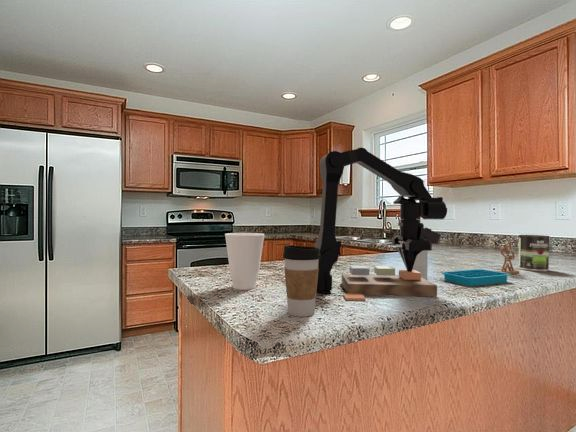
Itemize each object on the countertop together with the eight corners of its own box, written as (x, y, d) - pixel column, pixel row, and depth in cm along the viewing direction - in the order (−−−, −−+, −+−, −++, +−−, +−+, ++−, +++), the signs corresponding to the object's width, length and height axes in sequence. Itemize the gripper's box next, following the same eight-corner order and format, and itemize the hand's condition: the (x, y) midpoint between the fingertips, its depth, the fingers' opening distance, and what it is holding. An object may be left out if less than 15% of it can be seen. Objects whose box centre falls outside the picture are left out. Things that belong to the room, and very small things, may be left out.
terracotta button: (403, 279, 98) (403, 272, 98) (398, 276, 103) (398, 269, 103) (421, 279, 98) (421, 272, 98) (415, 276, 103) (415, 270, 103)
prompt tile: (345, 300, 86) (345, 298, 86) (343, 295, 91) (343, 293, 91) (365, 300, 86) (365, 298, 86) (361, 295, 91) (361, 293, 91)
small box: (427, 280, 114) (427, 249, 114) (410, 279, 115) (410, 248, 115) (423, 275, 122) (423, 246, 122) (406, 275, 123) (407, 246, 123)
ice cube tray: (439, 280, 114) (439, 272, 114) (480, 277, 122) (480, 268, 122) (469, 288, 104) (469, 278, 104) (512, 283, 112) (512, 274, 112)
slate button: (352, 274, 99) (352, 268, 99) (349, 272, 104) (349, 265, 104) (369, 275, 98) (369, 268, 98) (365, 272, 103) (366, 265, 103)
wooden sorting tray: (348, 294, 92) (348, 283, 92) (341, 283, 107) (341, 274, 107) (436, 296, 91) (437, 285, 91) (417, 284, 106) (417, 275, 106)
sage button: (377, 275, 98) (377, 268, 98) (374, 272, 103) (374, 265, 103) (395, 275, 98) (395, 268, 98) (390, 272, 103) (390, 266, 103)
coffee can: (554, 272, 133) (555, 236, 133) (526, 271, 134) (526, 235, 134) (539, 267, 143) (540, 234, 143) (513, 267, 145) (513, 234, 144)
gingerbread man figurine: (509, 271, 132) (509, 241, 132) (519, 273, 129) (520, 242, 128) (495, 273, 128) (495, 242, 128) (505, 275, 124) (506, 243, 124)
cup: (259, 282, 108) (259, 232, 108) (268, 290, 97) (269, 234, 97) (221, 284, 105) (222, 232, 104) (227, 292, 93) (227, 235, 93)
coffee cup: (281, 307, 79) (281, 244, 79) (316, 307, 80) (317, 244, 80) (283, 319, 71) (284, 247, 71) (323, 318, 71) (323, 247, 71)
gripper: (451, 220, 91) (450, 278, 91) (425, 219, 109) (425, 267, 109) (409, 219, 91) (409, 277, 91) (391, 218, 110) (390, 266, 110)
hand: (409, 271), depth 100 cm, fingers closed, pressing on terracotta button
